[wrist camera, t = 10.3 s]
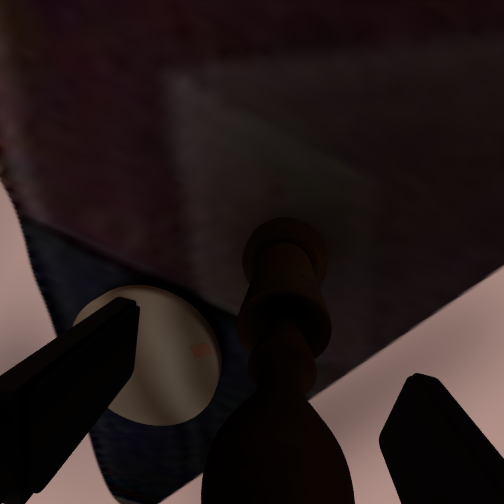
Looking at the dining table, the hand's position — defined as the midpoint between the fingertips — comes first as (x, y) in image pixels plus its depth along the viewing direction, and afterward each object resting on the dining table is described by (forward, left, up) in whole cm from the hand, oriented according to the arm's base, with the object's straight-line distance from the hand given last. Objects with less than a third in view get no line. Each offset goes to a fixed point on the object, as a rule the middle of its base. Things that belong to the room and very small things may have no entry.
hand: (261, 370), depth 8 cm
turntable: (+9, +12, -12) cm, 19 cm away
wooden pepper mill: (-1, 0, -13) cm, 13 cm away
